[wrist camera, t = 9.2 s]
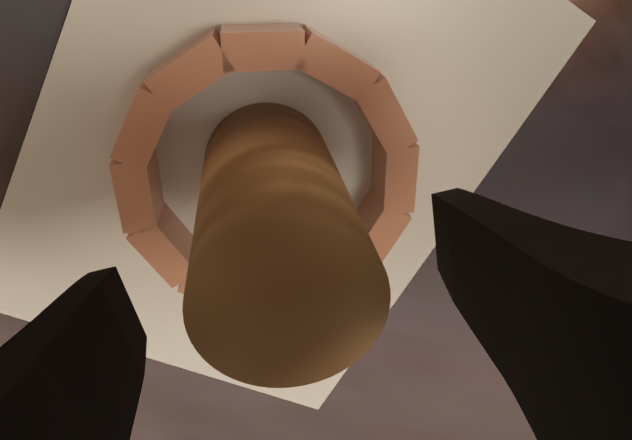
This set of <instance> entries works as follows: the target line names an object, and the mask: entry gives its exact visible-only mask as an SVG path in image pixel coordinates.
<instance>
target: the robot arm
mask: <svg viewBox="0 0 632 440" xmlns="http://www.w3.org/2000/svg"><path fill="white" fill-rule="evenodd" d="M431 197H432V208H433V220H434V231H435V242H436V254H437V265H438V270H439V272H440V275H441V277H442V279H443V281H444V283H445V285H446V288H447V290H448V292H449V294H450V296H451V298H452V300H453V302H454V304H455V305H456V307H457V308H458V310H459V311H460V313H461V315H462V316H463V318H464V319H465V321H466V322H467V324H468V325H469V327H470V328H471V330H472V331H473V333H474V334H475V336H476V337H477V339H478V340H479V342H480V343H481V345H482V346H483V348H484V349H485V351H486V352H487V354H488V355H489V357H490V358H491V360H492V361H493V363H494V364H495V365H496V367H497V368H498V370H499V371H500V373H501V374H502V376H503V377H504V379H505V381H506V382H507V384H508V386H509V387H510V389H511V391H512V392H513V394H514V396H515V398H516V400H517V402H518V403H519V405H520V407H521V409H522V411H523V413H524V415H525V417H526V419H527V421H528V423H529V425H530V426H531V428H532V430H533V432H534V434H535V436H536V438H537V440H632V242H630V241H625V240H620V239H616V238H611V237H607V236H603V235H598V234H594V233H590V232H586V231H582V230H578V229H575V228H571V227H568V226H565V225H561V224H558V223H555V222H552V221H548V220H545V219H542V218H539V217H537V216H534V215H531V214H528V213H525V212H522V211H520V210H517V209H514V208H512V207H509V206H506V205H504V204H501V203H499V202H496V201H494V200H491V199H488V198H486V197H483V196H481V195H478V194H475V193H473V192H470V191H467V190H464V189H460V188H455V189H450V190H446V191H442V192H437V193H433V194H431ZM146 346H147V336H146V333H145V331H144V329H143V327H142V324H141V322H140V320H139V318H138V315H137V313H136V311H135V309H134V306H133V304H132V302H131V300H130V297H129V295H128V293H127V291H126V288H125V286H124V284H123V282H122V279H121V277H120V275H119V273H118V270H117V268H116V266H115V267H110V268H106V269H102V270H97V271H93V272H89V273H87V274H86V275H84V276H83V277H81V278H80V279H79V280H77V281H76V282H75V283H74V284H73V285H71V286H70V287H69V288H68V289H67V290H66V291H64V292H63V293H62V294H61V295H60V296H59V297H58V298H56V299H55V300H54V301H53V302H52V303H51V304H50V305H49V306H47V307H46V308H45V309H44V310H43V311H42V312H41V313H40V314H38V315H37V316H36V317H35V318H34V319H33V320H32V321H31V322H29V323H28V324H27V325H26V326H25V327H24V328H23V329H22V330H20V331H19V332H18V333H17V334H16V335H14V336H13V337H12V338H11V339H9V340H8V341H7V342H6V343H5V344H3V345H2V346H1V347H0V440H130V436H131V431H132V427H133V423H134V419H135V415H136V410H137V406H138V402H139V397H140V393H141V388H142V384H143V379H144V372H145V361H146Z"/></svg>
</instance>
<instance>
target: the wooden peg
mask: <svg viewBox="0 0 632 440" xmlns="http://www.w3.org/2000/svg"><path fill="white" fill-rule="evenodd" d="M390 301H391V292H390V284H389V278H388V276H387V273H386V270H385V267H384V265H383V263H382V261H381V259H380V257H379V255H378V253H377V251H376V248H375V246H374V244H373V242H372V240H371V238H370V236H369V234H368V232H367V230H366V227H365V225H364V223H363V221H362V219H361V217H360V215H359V213H358V211H357V209H356V207H355V204H354V202H353V200H352V198H351V196H350V194H349V192H348V190H347V188H346V186H345V184H344V181H343V179H342V177H341V175H340V173H339V171H338V169H337V167H336V165H335V163H334V160H333V158H332V156H331V154H330V152H329V150H328V148H327V146H326V144H325V142H324V140H323V137H322V136H321V134H320V132H319V130H318V129H317V127H316V126H315V125H314V123H313V122H312V121H311V120H310V119H309V118H308V117H306V116H305V115H304V114H302V113H301V112H299V111H297V110H296V109H294V108H291V107H289V106H286V105H282V104H278V103H255V104H251V105H247V106H244V107H242V108H239V109H237V110H235V111H234V112H232V113H230V114H229V115H228V116H226V117H225V118H224V119H223V120H222V121H221V122H220V123H219V124H218V125H217V127H216V128H215V129H214V131H213V133H212V134H211V136H210V139H209V141H208V144H207V148H206V152H205V158H204V165H203V171H202V178H201V185H200V191H199V198H198V204H197V211H196V217H195V224H194V231H193V237H192V244H191V250H190V257H189V263H188V270H187V277H186V283H185V290H184V296H183V308H182V311H183V321H184V325H185V329H186V333H187V335H188V337H189V339H190V342H191V343H192V345H193V346H194V348H195V350H196V351H197V352H198V353H199V355H200V356H201V357H202V358H203V359H204V360H205V361H206V362H207V363H208V364H209V365H211V366H212V367H213V368H214V369H216V370H217V371H219V372H220V373H222V374H224V375H226V376H228V377H230V378H232V379H234V380H237V381H240V382H242V383H245V384H250V385H254V386H259V387H267V388H290V387H298V386H304V385H308V384H312V383H316V382H319V381H322V380H324V379H327V378H330V377H332V376H334V375H336V374H338V373H340V372H342V371H343V370H345V369H346V368H348V367H350V366H351V365H352V364H354V363H355V362H356V361H357V360H359V359H360V358H361V357H362V356H363V355H364V354H365V353H366V352H367V351H368V350H369V349H370V348H371V346H372V345H373V344H374V343H375V341H376V340H377V338H378V337H379V335H380V333H381V332H382V330H383V327H384V325H385V323H386V320H387V317H388V313H389V309H390Z"/></svg>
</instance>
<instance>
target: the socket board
mask: <svg viewBox="0 0 632 440" xmlns="http://www.w3.org/2000/svg"><path fill="white" fill-rule="evenodd" d="M595 22H596V21H595V20H594V19H593V18H591V17H590V16H589V15H587V14H586V13H584V12H583V11H582V10H580V9H579V8H578V7H576V6H575V5H574V4H572V3H571V2H570V1H568V0H72V3H71V5H70V8H69V11H68V14H67V17H66V20H65V23H64V26H63V29H62V32H61V35H60V37H59V40H58V43H57V46H56V49H55V52H54V55H53V58H52V61H51V64H50V67H49V70H48V72H47V75H46V78H45V81H44V84H43V87H42V90H41V93H40V96H39V99H38V102H37V104H36V107H35V110H34V113H33V116H32V119H31V122H30V125H29V128H28V131H27V134H26V137H25V139H24V142H23V145H22V148H21V151H20V154H19V157H18V160H17V163H16V166H15V169H14V171H13V174H12V177H11V180H10V183H9V186H8V189H7V192H6V195H5V198H4V201H3V204H2V206H1V209H0V313H3V314H6V315H9V316H13V317H16V318H19V319H22V320H26V321H29V322H31V321H32V320H33V319H34V318H35V317H36V316H37V315H38V314H40V313H41V312H42V311H43V310H44V309H45V308H46V307H47V306H49V305H50V304H51V303H52V302H53V301H54V300H55V299H56V298H58V297H59V296H60V295H61V294H62V293H63V292H64V291H66V290H67V289H68V288H69V287H70V286H71V285H73V284H74V283H75V282H76V281H77V280H79V279H80V278H81V277H83V276H84V275H86V274H87V273H89V272H93V271H97V270H102V269H106V268H110V267H115V266H116V268H117V270H118V273H119V275H120V277H121V279H122V282H123V284H124V286H125V288H126V291H127V293H128V295H129V297H130V300H131V302H132V304H133V306H134V309H135V311H136V313H137V315H138V318H139V320H140V322H141V324H142V327H143V329H144V331H145V333H146V336H147V346H146V357H147V358H151V359H154V360H157V361H160V362H164V363H167V364H170V365H174V366H177V367H180V368H183V369H187V370H190V371H193V372H197V373H200V374H203V375H206V376H210V377H213V378H216V379H220V380H223V381H226V382H229V383H233V384H236V385H239V386H243V387H246V388H249V389H252V390H256V391H259V392H262V393H266V394H269V395H272V396H275V397H279V398H282V399H285V400H289V401H292V402H295V403H298V404H302V405H305V406H308V407H312V408H315V409H319V408H320V406H321V405H322V404H323V402H324V401H325V399H326V398H327V397H328V395H329V394H330V392H331V391H332V390H333V388H334V387H335V385H336V384H337V383H338V381H339V380H340V378H341V377H342V376H343V374H344V373H345V371H346V370H347V369H348V368H346V369H345V370H343V371H342V372H340V373H338V374H336V375H334V376H332V377H330V378H327V379H324V380H322V381H319V382H316V383H312V384H308V385H304V386H298V387H290V388H267V387H259V386H254V385H250V384H245V383H242V382H240V381H237V380H234V379H232V378H230V377H228V376H226V375H224V374H222V373H220V372H219V371H217V370H216V369H214V368H213V367H212V366H211V365H209V364H208V363H207V362H206V361H205V360H204V359H203V358H202V357H201V356H200V355H199V353H198V352H197V351H196V350H195V348H194V346H193V345H192V343H191V342H190V339H189V337H188V335H187V333H186V329H185V325H184V321H183V311H182V308H183V296H184V294H182V293H179V292H177V291H178V285H179V284H178V285H177V286H175V287H173V288H171V287H170V285H169V284H168V283H167V282H166V281H165V280H164V279H163V278H162V277H161V276H160V275H159V274H158V273H157V272H156V271H155V269H154V268H153V267H152V266H151V265H150V264H149V263H148V262H147V261H146V260H145V259H144V258H143V257H142V256H141V255H140V253H139V252H138V251H137V250H136V249H135V248H134V247H133V246H132V245H131V244H130V243H129V242H128V241H127V240H126V238H127V235H128V233H125V234H123V231H122V226H121V221H120V216H119V211H118V206H117V202H116V197H115V192H114V187H113V182H112V178H111V173H110V168H109V164H110V162H111V160H112V159H111V158H109V157H110V155H111V153H112V150H113V148H114V145H115V143H116V141H117V138H118V136H119V133H120V131H121V128H122V126H123V124H124V121H125V119H126V116H127V114H128V112H129V109H130V107H131V104H132V102H133V99H134V97H135V95H136V92H137V90H138V87H139V86H140V85H141V83H142V82H143V81H144V79H145V78H146V77H147V75H148V74H149V73H150V72H151V71H152V69H153V68H154V67H156V66H157V65H159V64H160V63H162V62H163V61H165V60H166V59H168V58H169V57H171V56H172V55H174V54H175V53H177V52H178V51H180V50H181V49H183V48H184V47H186V46H187V45H189V44H190V43H192V42H193V41H195V40H196V39H198V38H199V37H201V36H202V35H204V34H205V33H207V32H208V31H210V30H211V29H213V28H214V27H216V29H217V30H218V32H219V34H220V30H221V26H222V25H231V24H267V23H298V24H299V25H300V26H301V27H302V28H303V26H304V24H305V25H307V26H308V27H310V28H312V29H313V30H315V31H317V32H319V33H320V34H322V35H324V36H326V37H327V38H329V39H331V40H332V41H334V42H336V43H338V44H339V45H341V46H343V47H344V48H346V49H348V50H350V51H351V52H353V53H355V54H356V55H358V56H360V57H362V58H363V59H365V60H367V61H368V62H369V63H370V64H372V65H373V66H374V67H375V68H377V69H378V70H379V71H380V72H381V74H382V75H383V76H385V77H386V79H387V81H388V83H389V85H390V87H391V88H392V90H393V92H394V94H395V96H396V98H397V100H398V102H399V104H400V106H401V108H402V110H403V112H404V114H405V116H406V118H407V119H408V121H409V123H410V125H411V127H412V129H413V131H414V133H415V135H416V137H417V139H418V141H417V142H416V143H417V145H418V146H419V147H420V149H419V161H418V173H417V185H416V196H415V208H414V213H409V214H410V216H411V217H412V219H411V221H410V222H409V224H408V225H407V227H406V228H405V230H404V231H403V232H402V234H401V235H400V237H399V238H398V240H397V241H396V243H395V244H394V246H393V247H392V249H391V250H390V252H389V253H388V254H387V256H386V257H385V259H384V260H383V262H382V263H383V265H384V267H385V270H386V273H387V276H388V278H389V284H390V292H391V301H390V309H391V307H392V306H393V304H394V303H395V302H396V300H397V299H398V297H399V296H400V295H401V293H402V292H403V290H404V289H405V288H406V286H407V285H408V283H409V282H410V281H411V279H412V278H413V276H414V275H415V274H416V272H417V271H418V269H419V268H420V267H421V265H422V264H423V262H424V261H425V260H426V258H427V257H428V255H429V254H430V253H431V251H432V250H433V248H434V247H435V246H436V242H435V231H434V220H433V208H432V197H431V194H433V193H437V192H442V191H446V190H450V189H455V188H460V189H464V190H467V191H470V192H474V191H475V190H476V188H477V187H478V185H479V184H480V183H481V181H482V180H483V178H484V177H485V176H486V174H487V173H488V172H489V170H490V169H491V167H492V166H493V165H494V163H495V162H496V160H497V159H498V158H499V156H500V155H501V153H502V152H503V151H504V149H505V148H506V146H507V145H508V144H509V142H510V141H511V139H512V138H513V137H514V135H515V134H516V132H517V131H518V130H519V128H520V127H521V125H522V124H523V123H524V121H525V120H526V118H527V117H528V116H529V114H530V113H531V111H532V110H533V109H534V107H535V106H536V104H537V103H538V102H539V100H540V99H541V97H542V96H543V95H544V93H545V92H546V90H547V89H548V88H549V86H550V85H551V83H552V82H553V81H554V79H555V78H556V76H557V75H558V74H559V72H560V71H561V69H562V68H563V67H564V65H565V64H566V62H567V61H568V60H569V58H570V57H571V55H572V54H573V53H574V51H575V50H576V48H577V47H578V46H579V44H580V43H581V41H582V40H583V39H584V37H585V36H586V34H587V33H588V32H589V30H590V29H591V27H592V26H593V25H594V23H595ZM255 103H278V104H282V105H286V106H289V107H291V108H294V109H296V110H297V111H299V112H301V113H302V114H304V115H305V116H306V117H308V118H309V119H310V120H311V121H312V122H313V123H314V125H315V126H316V127H317V129H318V130H319V132H320V134H321V136H322V137H323V140H324V142H325V144H326V146H327V148H328V150H329V152H330V154H331V156H332V158H333V160H334V163H335V165H336V167H337V169H338V171H339V173H340V175H341V177H342V179H343V181H344V184H345V186H346V188H347V190H348V192H349V194H350V196H351V198H352V200H353V202H354V204H355V207H356V209H358V207H359V206H360V204H361V203H362V201H363V199H364V198H365V196H366V195H367V193H368V191H369V190H370V188H371V171H372V147H373V135H372V133H371V131H370V129H369V127H368V126H367V124H366V122H365V120H364V119H363V117H362V115H361V113H360V111H359V110H358V108H357V106H356V104H355V103H354V101H353V99H352V98H351V97H349V96H347V95H345V94H343V93H341V92H340V91H338V90H336V89H334V88H332V87H330V86H329V85H327V84H325V83H323V82H321V81H319V80H318V79H316V78H314V77H312V76H310V75H308V74H307V73H305V72H303V71H301V70H282V71H256V72H230V73H228V74H227V75H225V76H224V77H222V78H221V79H219V80H218V81H216V82H214V83H213V84H211V85H210V86H208V87H207V88H205V89H204V90H202V91H201V92H199V93H198V94H196V95H195V96H193V97H192V98H190V99H188V100H187V101H185V102H184V103H182V104H181V105H179V106H178V107H176V108H175V109H173V110H172V112H171V114H170V116H169V118H168V121H167V123H166V125H165V127H164V130H163V132H162V134H161V136H160V139H159V141H158V143H157V145H156V147H155V148H156V155H157V161H158V167H159V173H160V179H161V186H162V192H163V198H164V202H165V203H166V204H167V205H168V206H169V208H170V209H171V210H172V211H173V212H174V213H175V215H176V216H177V217H178V218H179V219H180V221H181V222H182V223H183V224H184V225H185V226H186V228H187V229H188V230H189V231H190V232H191V233H192V235H193V231H194V224H195V217H196V211H197V204H198V198H199V191H200V185H201V178H202V171H203V165H204V158H205V152H206V148H207V144H208V141H209V139H210V136H211V134H212V133H213V131H214V129H215V128H216V127H217V125H218V124H219V123H220V122H221V121H222V120H223V119H224V118H225V117H226V116H228V115H229V114H230V113H232V112H234V111H235V110H237V109H239V108H242V107H244V106H247V105H251V104H255ZM390 309H389V310H390Z"/></svg>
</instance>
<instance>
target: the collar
mask: <svg viewBox="0 0 632 440" xmlns="http://www.w3.org/2000/svg"><path fill="white" fill-rule="evenodd" d="M282 70H301V71H303V72H305V73H307V74H308V75H310V76H312V77H314V78H316V79H318V80H319V81H321V82H323V83H325V84H327V85H329V86H330V87H332V88H334V89H336V90H338V91H340V92H341V93H343V94H345V95H347V96H349V97H351V98H352V99H353V101H354V103H355V104H356V106H357V108H358V110H359V111H360V113H361V115H362V117H363V119H364V120H365V122H366V124H367V126H368V127H369V129H370V131H371V133H372V135H373V147H372V171H371V188H370V190H369V191H368V193H367V195H366V196H365V198H364V199H363V201H362V203H361V204H360V206H359V207H358V209H357V211H358V213H359V215H360V217H361V219H362V221H363V223H364V225H365V227H366V230H367V232H368V234H369V236H370V238H371V240H372V242H373V244H374V246H375V248H376V251H377V253H378V255H379V257H380V259H381V261H382V262H383V260H384V259H385V257H386V256H387V254H388V253H389V252H390V250H391V249H392V247H393V246H394V244H395V243H396V241H397V240H398V238H399V237H400V235H401V234H402V232H403V231H404V230H405V228H406V227H407V225H408V224H409V222H410V221H411V219H412V217H411V216H410V214H409V213H414V208H415V196H416V185H417V173H418V161H419V149H420V147H419V146H418V145H417V143H416V142H417V141H418V139H417V137H416V135H415V133H414V131H413V129H412V127H411V125H410V123H409V121H408V119H407V118H406V116H405V114H404V112H403V110H402V108H401V106H400V104H399V102H398V100H397V98H396V96H395V94H394V92H393V90H392V88H391V87H390V85H389V83H388V81H387V79H386V77H385V76H383V75H382V74H381V72H380V71H379V70H378V69H377V68H375V67H374V66H373V65H372V64H370V63H369V62H368V61H367V60H365V59H363V58H362V57H360V56H358V55H356V54H355V53H353V52H351V51H350V50H348V49H346V48H344V47H343V46H341V45H339V44H338V43H336V42H334V41H332V40H331V39H329V38H327V37H326V36H324V35H322V34H320V33H319V32H317V31H315V30H313V29H312V28H310V27H308V26H307V25H305V24H304V26H303V28H302V27H301V26H300V25H299V24H298V23H267V24H231V25H222V26H221V30H220V34H219V32H218V30H217V29H216V27H214V28H213V29H211V30H210V31H208V32H207V33H205V34H204V35H202V36H201V37H199V38H198V39H196V40H195V41H193V42H192V43H190V44H189V45H187V46H186V47H184V48H183V49H181V50H180V51H178V52H177V53H175V54H174V55H172V56H171V57H169V58H168V59H166V60H165V61H163V62H162V63H160V64H159V65H157V66H156V67H154V68H153V69H152V71H151V72H150V73H149V74H148V75H147V77H146V78H145V79H144V81H143V82H142V83H141V85H140V86H139V87H138V90H137V92H136V95H135V97H134V99H133V102H132V104H131V107H130V109H129V112H128V114H127V116H126V119H125V121H124V124H123V126H122V128H121V131H120V133H119V136H118V138H117V141H116V143H115V145H114V148H113V150H112V153H111V155H110V157H109V158H111V159H112V160H111V162H110V164H109V168H110V173H111V178H112V182H113V187H114V192H115V197H116V202H117V206H118V211H119V216H120V221H121V226H122V231H123V234H125V233H128V235H127V238H126V240H127V241H128V242H129V243H130V244H131V245H132V246H133V247H134V248H135V249H136V250H137V251H138V252H139V253H140V255H141V256H142V257H143V258H144V259H145V260H146V261H147V262H148V263H149V264H150V265H151V266H152V267H153V268H154V269H155V271H156V272H157V273H158V274H159V275H160V276H161V277H162V278H163V279H164V280H165V281H166V282H167V283H168V284H169V285H170V287H171V288H173V287H175V286H177V285H178V284H179V285H178V291H177V292H179V293H182V294H184V290H185V283H186V277H187V270H188V263H189V257H190V250H191V244H192V237H193V235H192V233H191V232H190V231H189V230H188V229H187V228H186V226H185V225H184V224H183V223H182V222H181V221H180V219H179V218H178V217H177V216H176V215H175V213H174V212H173V211H172V210H171V209H170V208H169V206H168V205H167V204H166V203H165V202H164V198H163V192H162V186H161V179H160V173H159V167H158V161H157V155H156V148H155V147H156V145H157V143H158V141H159V139H160V136H161V134H162V132H163V130H164V127H165V125H166V123H167V121H168V118H169V116H170V114H171V112H172V110H173V109H175V108H176V107H178V106H179V105H181V104H182V103H184V102H185V101H187V100H188V99H190V98H192V97H193V96H195V95H196V94H198V93H199V92H201V91H202V90H204V89H205V88H207V87H208V86H210V85H211V84H213V83H214V82H216V81H218V80H219V79H221V78H222V77H224V76H225V75H227V74H228V73H230V72H256V71H282Z"/></svg>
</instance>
